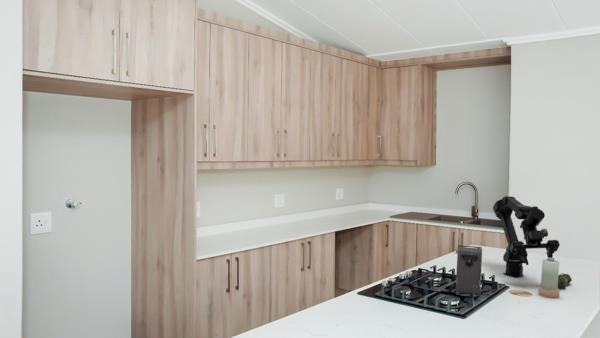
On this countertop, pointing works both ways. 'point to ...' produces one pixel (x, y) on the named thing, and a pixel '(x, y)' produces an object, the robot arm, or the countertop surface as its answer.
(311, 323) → the countertop surface
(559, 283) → the green toy tank
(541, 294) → the ramekin
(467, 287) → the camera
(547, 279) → the cloche
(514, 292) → the cork mat
